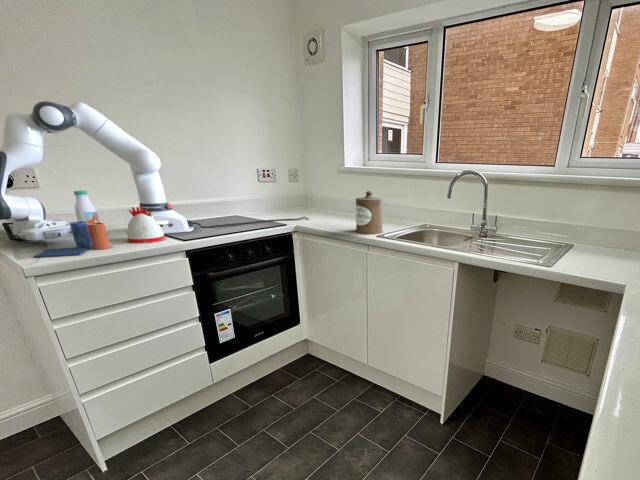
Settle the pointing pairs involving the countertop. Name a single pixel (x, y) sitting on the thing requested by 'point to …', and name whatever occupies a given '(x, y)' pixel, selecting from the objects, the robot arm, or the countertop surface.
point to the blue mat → (62, 252)
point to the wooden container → (369, 214)
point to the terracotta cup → (98, 235)
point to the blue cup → (80, 234)
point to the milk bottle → (85, 208)
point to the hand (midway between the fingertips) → (71, 232)
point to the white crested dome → (143, 228)
